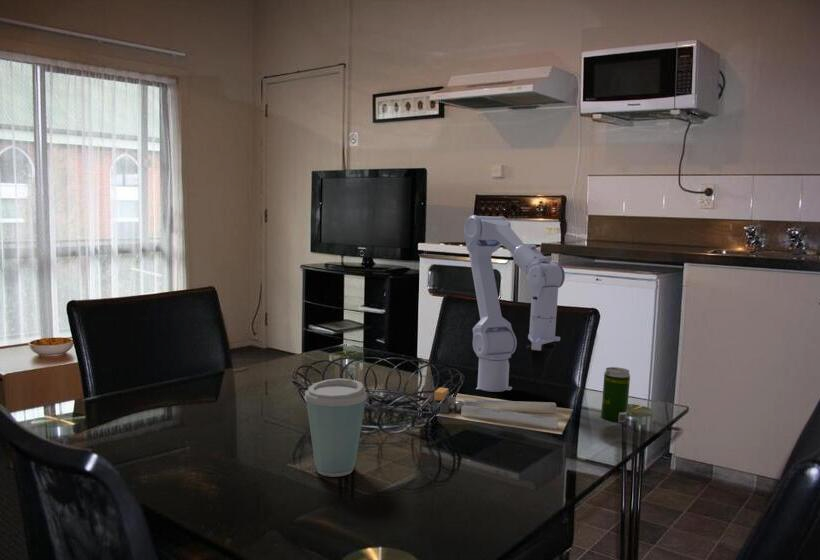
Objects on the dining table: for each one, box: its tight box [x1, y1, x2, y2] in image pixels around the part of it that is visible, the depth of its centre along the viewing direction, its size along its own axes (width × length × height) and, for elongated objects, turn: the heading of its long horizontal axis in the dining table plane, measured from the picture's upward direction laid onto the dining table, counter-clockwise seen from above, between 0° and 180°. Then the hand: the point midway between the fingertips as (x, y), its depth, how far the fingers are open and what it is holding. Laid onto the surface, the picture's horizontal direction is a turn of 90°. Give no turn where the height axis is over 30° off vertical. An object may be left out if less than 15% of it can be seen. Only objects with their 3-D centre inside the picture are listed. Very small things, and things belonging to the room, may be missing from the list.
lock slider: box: [433, 387, 449, 401], centre depth 156 cm, size 4×2×2 cm, turn 160°
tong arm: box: [454, 400, 557, 413], centre depth 156 cm, size 3×22×2 cm, turn 92°
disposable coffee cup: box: [304, 378, 368, 478], centre depth 121 cm, size 11×11×15 cm
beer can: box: [600, 366, 631, 423], centre depth 155 cm, size 5×5×12 cm
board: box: [436, 393, 574, 435], centre depth 157 cm, size 19×28×1 cm
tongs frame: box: [432, 395, 559, 430], centre depth 152 cm, size 6×27×2 cm, turn 70°
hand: (539, 375), depth 161 cm, fingers open, 3 cm apart
